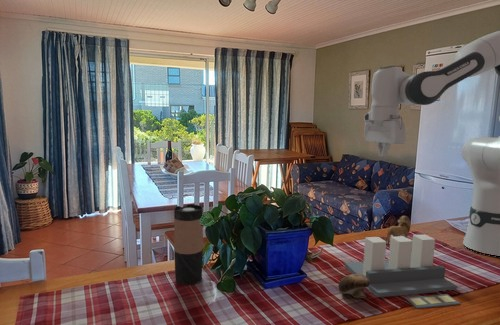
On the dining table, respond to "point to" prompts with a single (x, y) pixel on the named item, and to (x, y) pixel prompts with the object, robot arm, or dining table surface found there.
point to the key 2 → (422, 251)
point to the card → (432, 301)
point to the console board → (403, 279)
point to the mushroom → (354, 285)
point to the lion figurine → (399, 229)
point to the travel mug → (188, 244)
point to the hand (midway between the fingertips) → (382, 155)
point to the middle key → (399, 252)
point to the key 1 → (374, 254)
